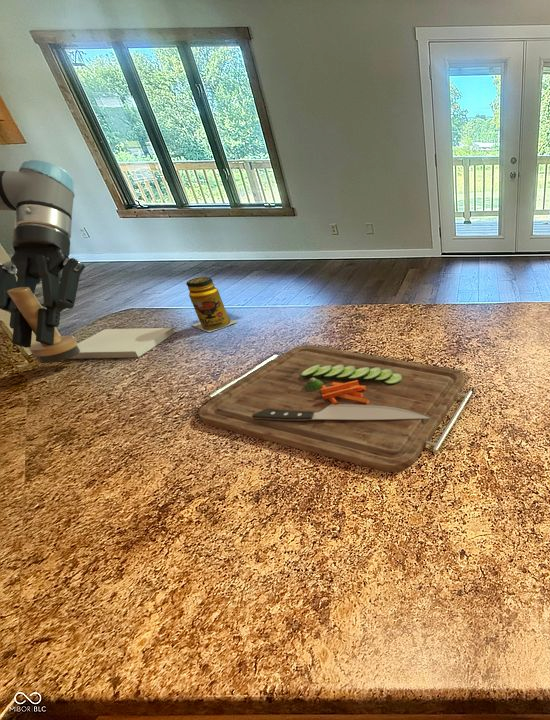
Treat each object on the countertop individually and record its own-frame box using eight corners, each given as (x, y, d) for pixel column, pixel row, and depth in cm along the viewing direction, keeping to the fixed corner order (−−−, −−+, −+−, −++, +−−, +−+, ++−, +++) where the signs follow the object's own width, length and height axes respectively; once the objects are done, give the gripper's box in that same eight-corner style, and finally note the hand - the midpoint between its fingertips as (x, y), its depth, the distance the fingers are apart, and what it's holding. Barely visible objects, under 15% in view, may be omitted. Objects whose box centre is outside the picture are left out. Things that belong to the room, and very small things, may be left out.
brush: (28, 364, 74) (-20, 295, 67) (58, 348, 79) (18, 283, 72) (61, 363, 74) (18, 295, 67) (90, 348, 79) (52, 283, 72)
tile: (63, 358, 82) (59, 352, 82) (108, 334, 93) (105, 328, 92) (138, 357, 83) (135, 351, 82) (174, 333, 93) (172, 327, 93)
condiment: (209, 333, 93) (190, 286, 87) (191, 325, 97) (172, 280, 91) (238, 322, 99) (222, 277, 93) (220, 315, 102) (204, 272, 96)
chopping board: (481, 379, 74) (481, 366, 73) (421, 481, 52) (420, 465, 51) (294, 347, 87) (290, 334, 85) (182, 418, 65) (174, 403, 63)
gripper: (-27, 225, 71) (-44, 343, 66) (75, 221, 75) (68, 332, 69) (11, 247, 78) (-1, 355, 73) (104, 242, 82) (99, 345, 76)
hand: (33, 343), depth 71 cm, fingers closed on brush, 3 cm apart
